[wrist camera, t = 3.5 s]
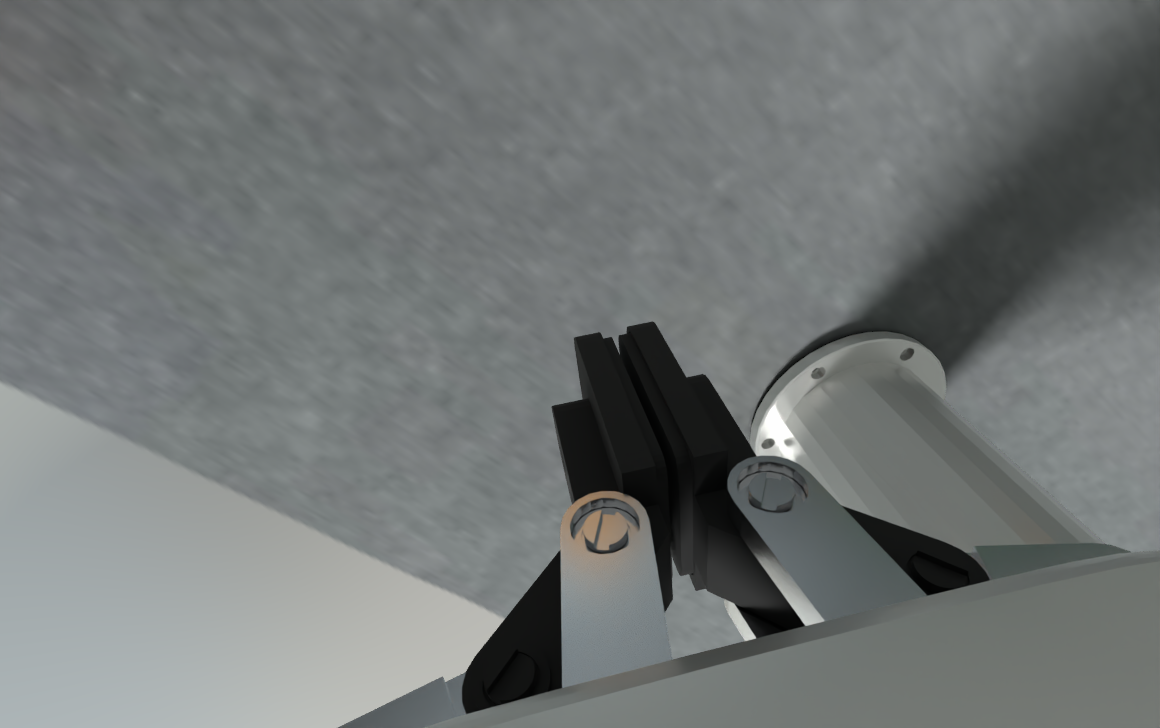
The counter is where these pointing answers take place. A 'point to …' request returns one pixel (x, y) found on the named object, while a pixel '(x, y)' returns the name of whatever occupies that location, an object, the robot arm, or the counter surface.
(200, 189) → the counter surface
